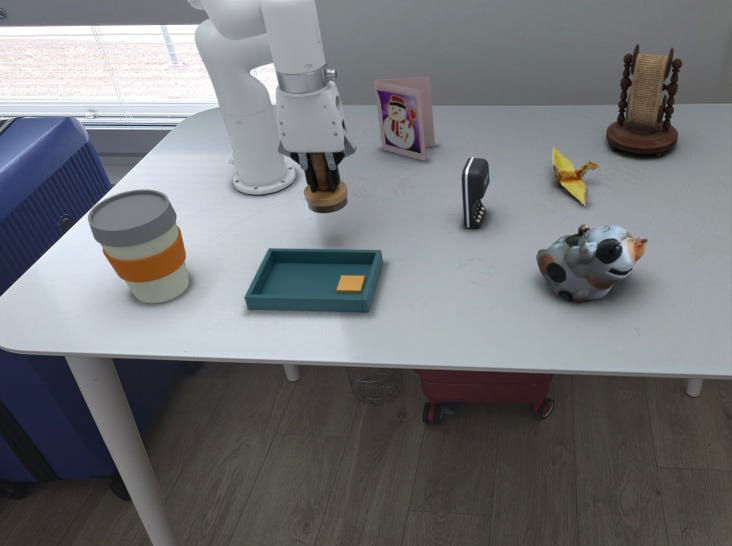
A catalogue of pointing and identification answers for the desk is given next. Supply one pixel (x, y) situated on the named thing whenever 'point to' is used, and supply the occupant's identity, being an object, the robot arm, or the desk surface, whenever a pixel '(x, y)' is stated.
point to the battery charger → (474, 191)
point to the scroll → (646, 105)
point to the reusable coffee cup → (142, 243)
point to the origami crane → (571, 175)
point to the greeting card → (405, 115)
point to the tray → (313, 280)
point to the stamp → (324, 188)
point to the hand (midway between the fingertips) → (324, 187)
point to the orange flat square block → (350, 284)
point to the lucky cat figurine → (590, 261)
